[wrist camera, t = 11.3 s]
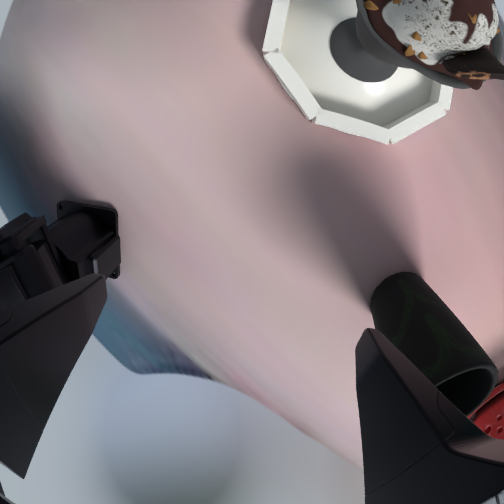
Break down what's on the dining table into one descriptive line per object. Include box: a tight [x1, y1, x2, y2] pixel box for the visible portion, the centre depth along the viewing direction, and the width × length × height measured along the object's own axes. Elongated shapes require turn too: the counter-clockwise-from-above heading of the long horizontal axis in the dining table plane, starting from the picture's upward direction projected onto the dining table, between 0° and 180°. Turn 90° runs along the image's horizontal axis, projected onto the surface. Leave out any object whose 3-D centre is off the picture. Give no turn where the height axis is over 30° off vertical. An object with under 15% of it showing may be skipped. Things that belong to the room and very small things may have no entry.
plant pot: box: [467, 383, 504, 440], centre depth 27 cm, size 13×13×12 cm
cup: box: [370, 272, 498, 417], centre depth 18 cm, size 8×8×12 cm
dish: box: [262, 0, 453, 145], centre depth 14 cm, size 13×13×2 cm
